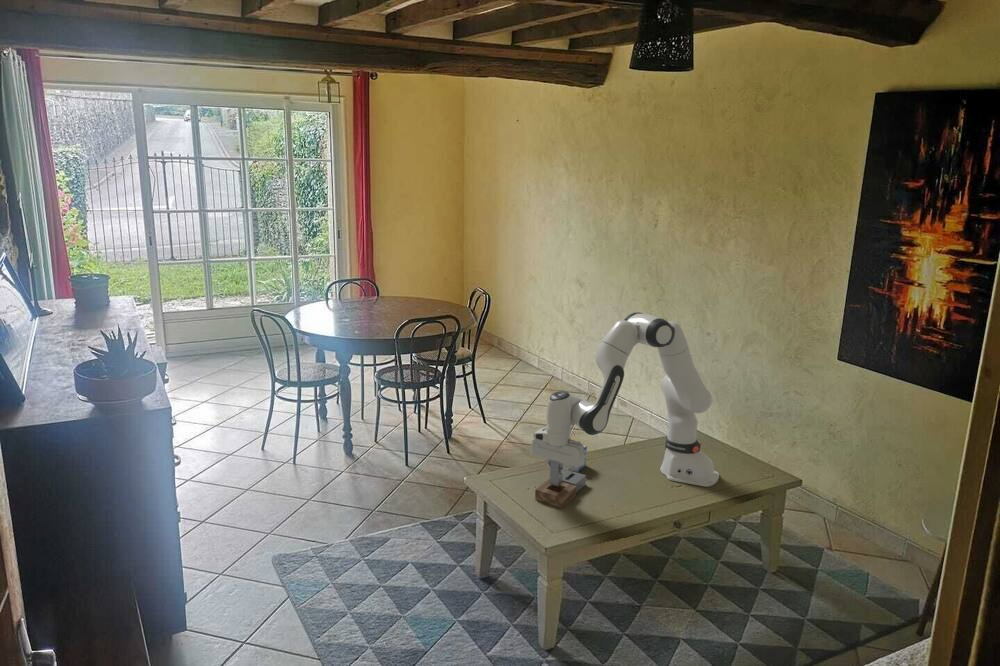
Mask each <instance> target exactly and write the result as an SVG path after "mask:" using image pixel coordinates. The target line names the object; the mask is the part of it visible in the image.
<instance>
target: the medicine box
mask: <svg viewBox="0 0 1000 666" xmlns="http://www.w3.org/2000/svg"><path fill="white" fill-rule="evenodd" d="M582 445H583V446H584V464H583V465H582V466H580V467H579V468H577V467H573V466H570V465H568V466H567V470H570V471H573V472H577V473H580V471H581V470H582V469H584V468H585V467H586V465H587V454H588V453H587V452H588V446H587V445H585V444H582Z"/></svg>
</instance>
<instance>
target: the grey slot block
mask: <svg viewBox="0 0 1000 666" xmlns="http://www.w3.org/2000/svg"><path fill="white" fill-rule="evenodd" d="M562 482H565V483H568V484H571V485H575V486H576V494H577V492H579V491H580V490H582V488H584V487H585V486H586V485H587V484H586V482H587V475H586V474H583V473H580V472H575V471H571V470H568V469H566V471H565V474H563V481H562Z"/></svg>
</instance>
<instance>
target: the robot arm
mask: <svg viewBox="0 0 1000 666" xmlns="http://www.w3.org/2000/svg"><path fill="white" fill-rule="evenodd" d="M683 331H684V330H683V329H682V328H681V325H680V324H679V323H678V322H677V321H674V320H666V319H664V318H661V317H658V316H655V315H653V314H648V313H642V312H639V311H638V312H637V311H635V312H632V313H629V314H628V315H627V316H626V317H625V318H624V319H621V320H617V321H616V322H615V323H613V325H612V326H611V328H610V329H609V330H608V331H607V332H606V334H605V336H604V337H603V339H602V341H601V342H600V344H599V346H598V347H597V350H596V353H595V362H596V365H597V367H598V368H599V370H600V372H601V374H602V376H603V382H602V383H603V384H602V385H601V389H600V391H599V393H598V395H597V397H596V400H595V402H594V403H592V402H591V401H589V400H587V399H585V398H584V397H581V396H575V395H572V394H571V393H569V392H567V391H565V390H564V391H563V390H562V391H556V392H553V393H552V394H550V396H549V397H548V400H547V405H546V421H547V424H546V426H545V427H541V428H540V429H538V430H536V431H535V432H534V433H533V435H532V436H533V439H532V440H531V447H530V453H531V454H532V455H533V456H535V457H539V458H542V459H544V460H545V463H546V465H547V470H548V471H550V465H551V460H555V461H558V462H559V463H563V468H561V469H560V474H565V471H566V470H567V469H568V465H570V466H573V467H577V468H579V467H580V466H582V465H583V464H584V446H583V445H584V444H582V443H581V442H580V441H576V440H574V439H571V436H572V435H571V431H572V426H573V425H574V426H577V427H578V428H580V429H581V430H582V431H583V432H585V433H586V434H588V435H589V436H596V435H599V434H600V433H602V432H603V431H604V430H605V429H606V427H607V425H608V422H609V418H610V414H611V411H612V408H613V406H614V404H615V401H616V399H617V396H618V394H619V391H620V390H621V387H622V383H623V381H624V377H625V366H626V362H627V361H628V359H629V357H630V355H631V353H632V351H633V349H634V347H635V346H636V345H637V344H642V345H646V346H650V347H653V348H657V351H658V354H659V359H660V362H661V364H662V367H663V372H665V375H664V377H663V378H661V383H660V388H661V390H662V393H663V395H664V399H665V400H664V401H665V404H666V410H667V419H668V421H667V423H668V424H667V435H666V437H665V442H664V449H665V451H664V455H663V460H662V464H661V466H660V468H659V469H660V472H661V473H662V474H663V475H664V476H666V478H667V479H668V480H669V481H672V482H679V483H684V484H688V485H689V484H690V485H694V486H700V487H706V488H708V487H712V486H713V485H715V484H716V483H718V481H719V480H720V479H719V478H720V475H719V472H718V471H716V470H714V463H713V460H712V459H711V458H710V457H708V456H707V455H706V454H705V453H704V452H703V451H702V450H701V446H702V441H700V442H699V441H698V440H697V433H698V419H697V417H696V415H695V414H703V413H705V412H706V411H708V410H709V409H710V407H711V405H712V403H713V397H712V394H711V392H710V391H709V390H708V388H707V387H706V386H705V384H704V381H703V380H702V378H701V375H700V374H699V373H698V370H697V368H696V366H695V364H694V361H693V359H692V355H691V352H690V348H689V345H688V341H687V339H686V335H685V334H684V332H683Z"/></svg>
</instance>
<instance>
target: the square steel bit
mask: <svg viewBox="0 0 1000 666" xmlns="http://www.w3.org/2000/svg"><path fill="white" fill-rule="evenodd" d="M550 461H551V465H550V470H549V472H550V473H549V479H550V484H552V485H555V486H559V485H560V484H562V481H563V474H560V469H561V468H563V467H564V466H563V463H559V462H558V461H555V460H550Z"/></svg>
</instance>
